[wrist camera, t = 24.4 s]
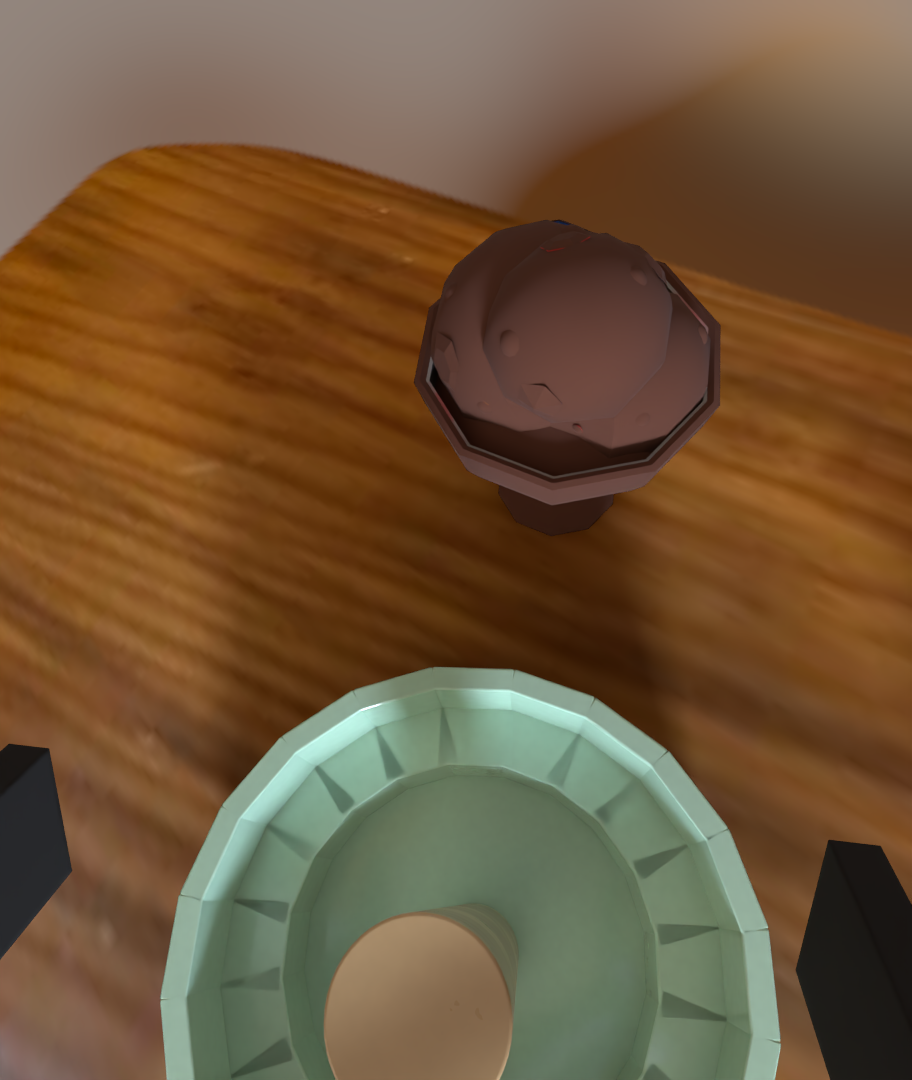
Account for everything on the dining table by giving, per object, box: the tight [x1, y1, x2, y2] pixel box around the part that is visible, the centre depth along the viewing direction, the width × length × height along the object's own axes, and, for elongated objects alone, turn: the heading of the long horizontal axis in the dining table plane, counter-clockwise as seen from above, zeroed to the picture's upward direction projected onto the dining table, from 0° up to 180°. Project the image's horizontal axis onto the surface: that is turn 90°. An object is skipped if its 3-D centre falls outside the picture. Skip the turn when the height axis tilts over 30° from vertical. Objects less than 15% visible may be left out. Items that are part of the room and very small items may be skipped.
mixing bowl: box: [160, 667, 781, 1080], centre depth 25 cm, size 18×18×6 cm
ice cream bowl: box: [414, 220, 720, 536], centre depth 29 cm, size 11×11×15 cm
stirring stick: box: [323, 903, 519, 1080], centre depth 20 cm, size 3×3×16 cm
